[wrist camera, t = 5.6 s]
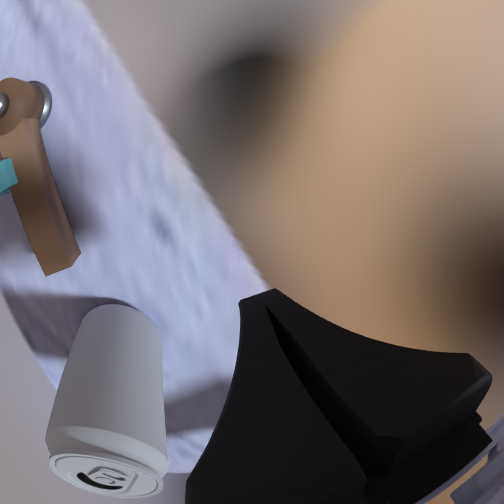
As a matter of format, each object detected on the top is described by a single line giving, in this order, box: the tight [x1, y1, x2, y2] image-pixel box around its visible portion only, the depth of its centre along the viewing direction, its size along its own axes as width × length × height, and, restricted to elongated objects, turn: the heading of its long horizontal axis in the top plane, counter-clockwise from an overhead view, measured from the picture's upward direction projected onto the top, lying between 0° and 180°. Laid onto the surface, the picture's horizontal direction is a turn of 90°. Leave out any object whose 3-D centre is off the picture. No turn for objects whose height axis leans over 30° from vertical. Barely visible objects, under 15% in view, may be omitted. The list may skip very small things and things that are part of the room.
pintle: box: [0, 81, 52, 129], centre depth 10 cm, size 4×4×4 cm
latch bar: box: [0, 78, 81, 276], centre depth 12 cm, size 12×3×3 cm, turn 13°
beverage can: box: [46, 304, 169, 498], centre depth 14 cm, size 6×6×12 cm
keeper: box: [0, 158, 18, 196], centre depth 11 cm, size 1×3×4 cm, turn 104°
